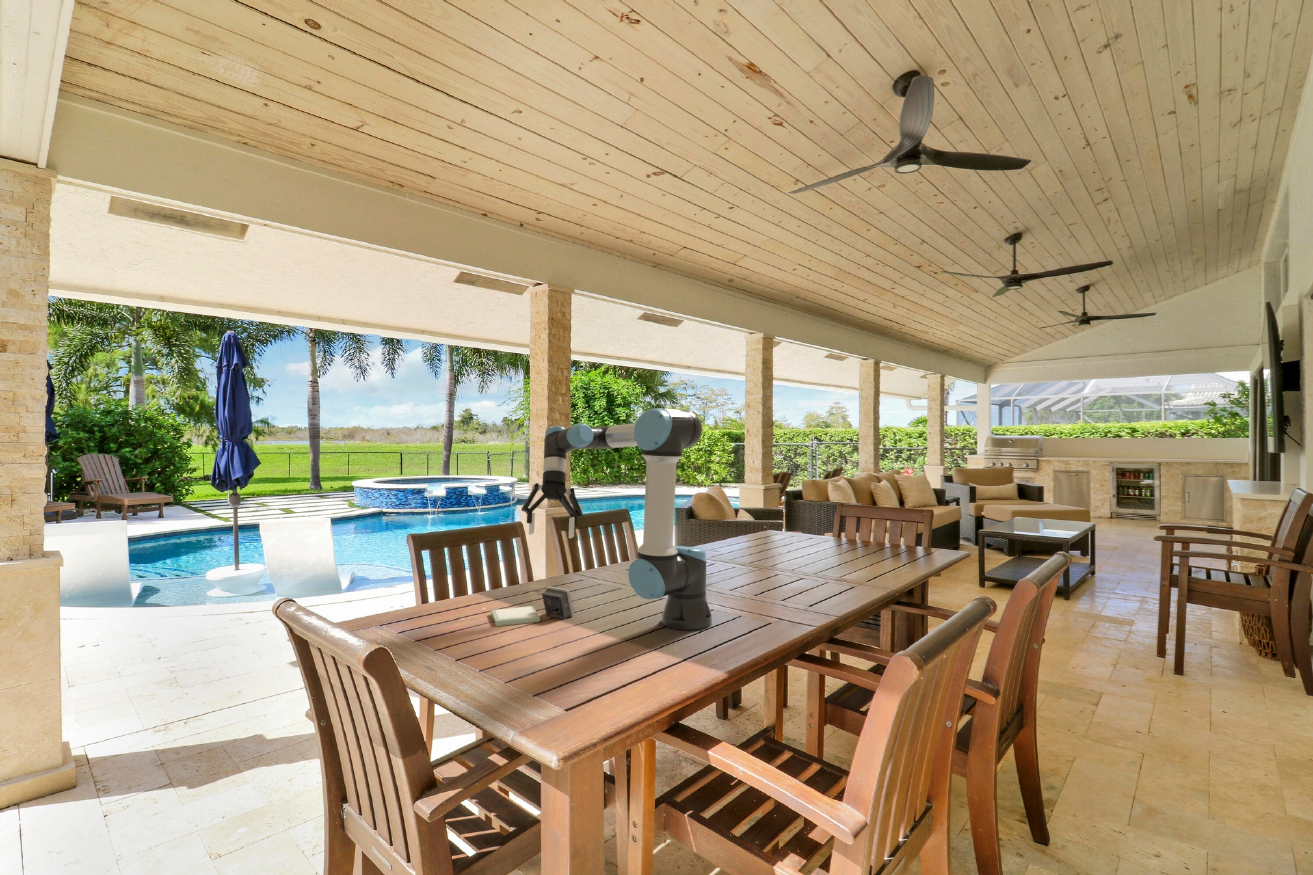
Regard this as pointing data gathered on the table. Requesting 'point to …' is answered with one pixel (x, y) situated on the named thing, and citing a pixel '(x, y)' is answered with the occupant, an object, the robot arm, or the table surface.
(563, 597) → the electrical switch
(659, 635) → the table surface
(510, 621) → the board
